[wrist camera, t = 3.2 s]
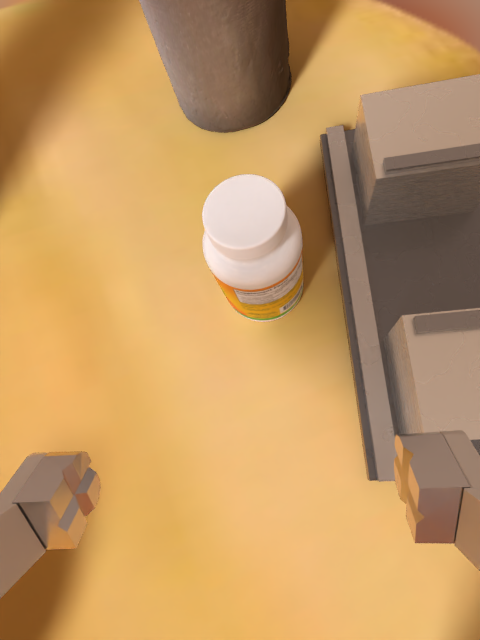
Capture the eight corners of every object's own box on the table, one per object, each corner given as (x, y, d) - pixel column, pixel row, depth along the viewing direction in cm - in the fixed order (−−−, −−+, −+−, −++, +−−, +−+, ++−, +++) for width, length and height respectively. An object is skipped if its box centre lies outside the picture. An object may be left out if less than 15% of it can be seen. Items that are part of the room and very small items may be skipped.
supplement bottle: (225, 255, 28) (186, 168, 19) (300, 247, 28) (296, 152, 18) (227, 326, 27) (186, 268, 18) (306, 320, 26) (306, 255, 17)
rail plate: (577, 470, 21) (680, 482, 15) (367, 479, 23) (388, 493, 17) (473, 117, 28) (517, 34, 22) (320, 142, 30) (323, 70, 24)
